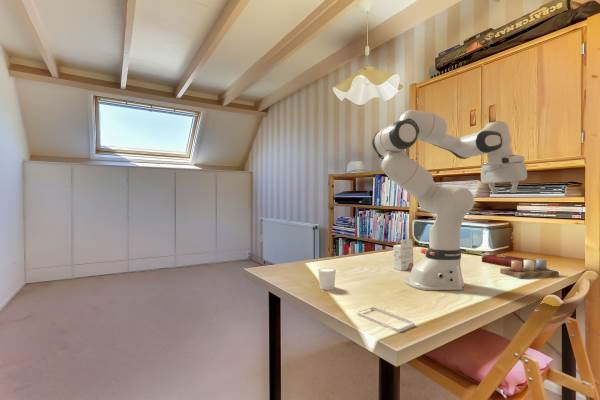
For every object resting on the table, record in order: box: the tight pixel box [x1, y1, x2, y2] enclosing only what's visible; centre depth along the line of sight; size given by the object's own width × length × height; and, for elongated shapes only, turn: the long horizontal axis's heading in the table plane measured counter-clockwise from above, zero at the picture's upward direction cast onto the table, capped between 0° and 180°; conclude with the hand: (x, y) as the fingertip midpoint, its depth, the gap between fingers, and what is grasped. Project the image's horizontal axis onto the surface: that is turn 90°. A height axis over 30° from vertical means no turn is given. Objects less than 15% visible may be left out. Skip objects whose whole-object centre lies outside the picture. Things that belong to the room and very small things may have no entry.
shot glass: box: [317, 267, 337, 291], centre depth 117 cm, size 7×7×7 cm
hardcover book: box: [481, 253, 536, 268], centre depth 155 cm, size 12×21×4 cm, turn 26°
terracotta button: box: [510, 260, 522, 272], centre depth 133 cm, size 4×4×4 cm
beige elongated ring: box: [356, 306, 415, 333], centre depth 86 cm, size 7×1×15 cm
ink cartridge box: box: [393, 238, 414, 271], centre depth 148 cm, size 9×5×15 cm, turn 118°
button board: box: [499, 267, 560, 280], centre depth 135 cm, size 20×10×2 cm, turn 100°
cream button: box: [524, 259, 534, 271], centre depth 135 cm, size 4×4×4 cm
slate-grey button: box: [535, 258, 548, 271], centre depth 136 cm, size 4×4×4 cm
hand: (503, 192), depth 127 cm, fingers open, 8 cm apart
